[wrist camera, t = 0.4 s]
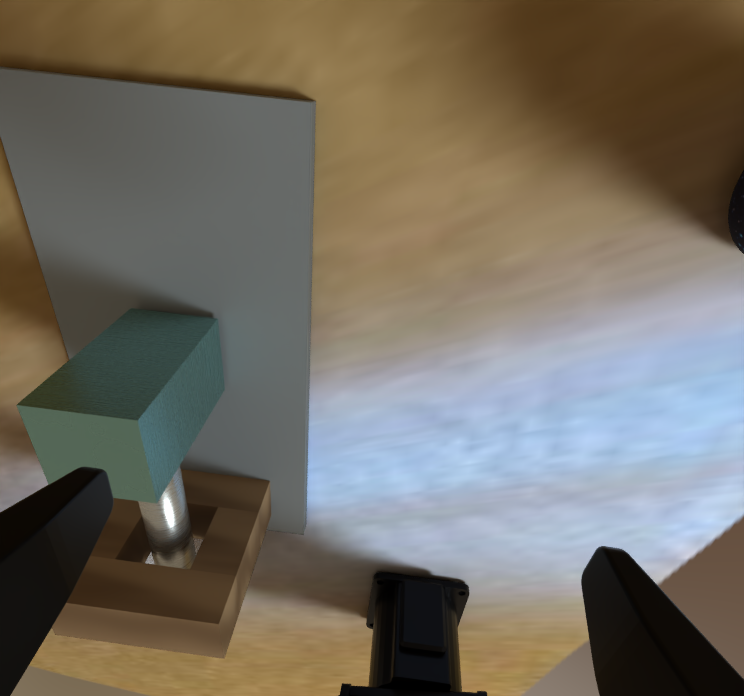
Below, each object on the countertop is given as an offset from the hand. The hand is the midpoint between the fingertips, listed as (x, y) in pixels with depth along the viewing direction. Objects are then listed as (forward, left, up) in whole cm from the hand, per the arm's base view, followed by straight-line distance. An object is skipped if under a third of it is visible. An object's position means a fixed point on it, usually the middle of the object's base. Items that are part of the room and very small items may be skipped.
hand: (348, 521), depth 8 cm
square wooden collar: (-15, +9, -13) cm, 22 cm away
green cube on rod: (-12, +9, -12) cm, 19 cm away
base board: (-6, +9, -13) cm, 17 cm away
